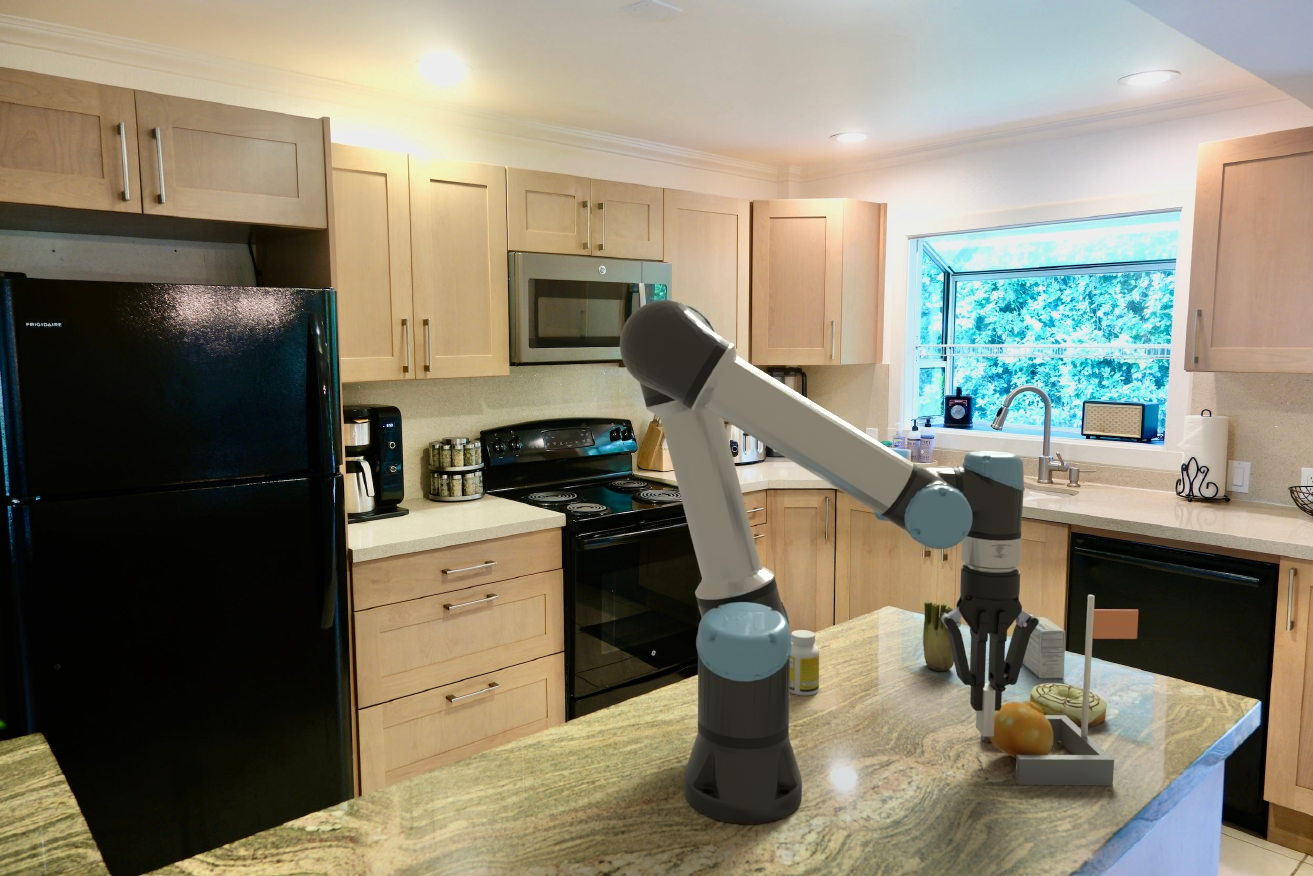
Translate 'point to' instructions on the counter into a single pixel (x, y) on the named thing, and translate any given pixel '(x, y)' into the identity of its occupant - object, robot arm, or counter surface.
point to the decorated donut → (1068, 702)
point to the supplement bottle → (804, 663)
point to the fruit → (1022, 730)
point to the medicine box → (1046, 650)
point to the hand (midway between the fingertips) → (984, 731)
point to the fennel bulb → (936, 638)
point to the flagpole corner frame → (1087, 755)
